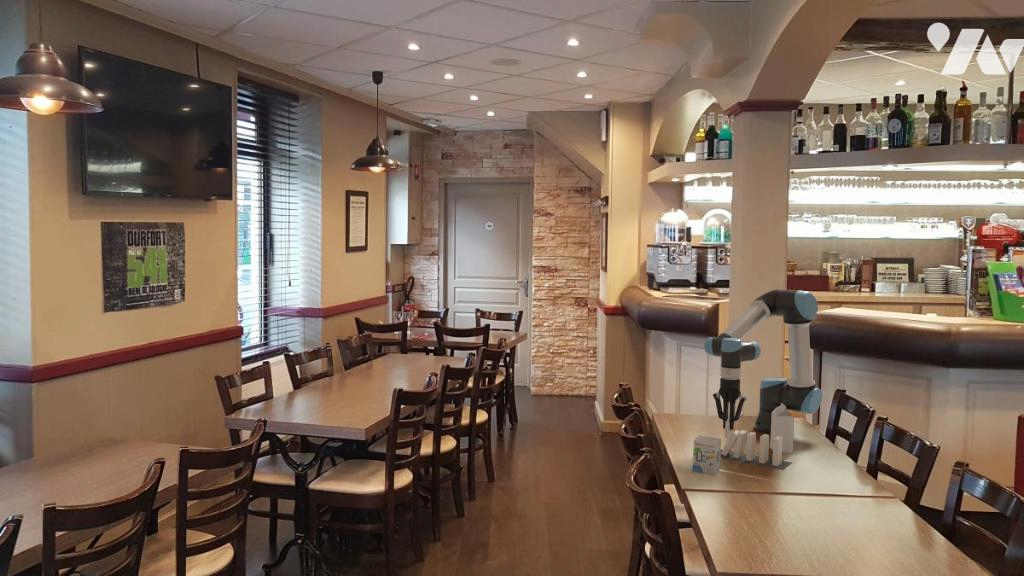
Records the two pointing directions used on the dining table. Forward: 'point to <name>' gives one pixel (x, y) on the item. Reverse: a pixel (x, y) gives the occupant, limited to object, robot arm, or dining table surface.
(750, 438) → the domino
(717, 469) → the ink box
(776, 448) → the domino
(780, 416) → the milk carton
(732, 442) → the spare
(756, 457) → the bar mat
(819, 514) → the dining table surface
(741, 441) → the domino
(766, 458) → the domino
